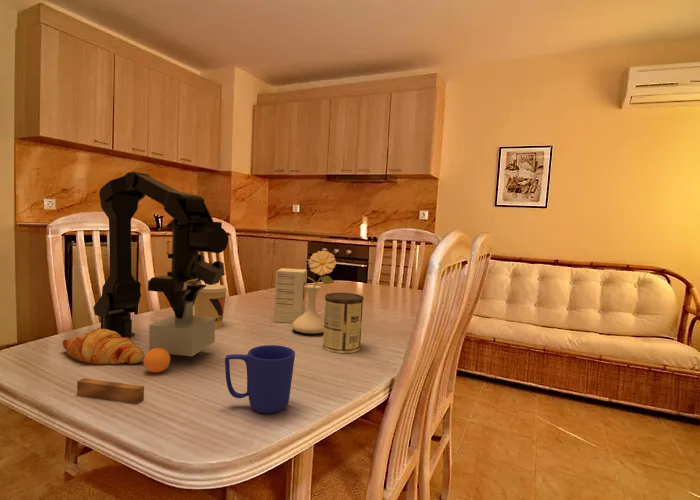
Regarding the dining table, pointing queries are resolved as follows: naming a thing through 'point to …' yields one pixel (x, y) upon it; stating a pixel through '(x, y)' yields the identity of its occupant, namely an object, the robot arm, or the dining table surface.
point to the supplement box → (289, 294)
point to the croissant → (103, 348)
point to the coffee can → (342, 322)
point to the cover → (183, 333)
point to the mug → (265, 377)
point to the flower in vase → (315, 293)
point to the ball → (157, 360)
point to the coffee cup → (211, 303)
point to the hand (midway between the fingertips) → (183, 316)
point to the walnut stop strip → (110, 390)
